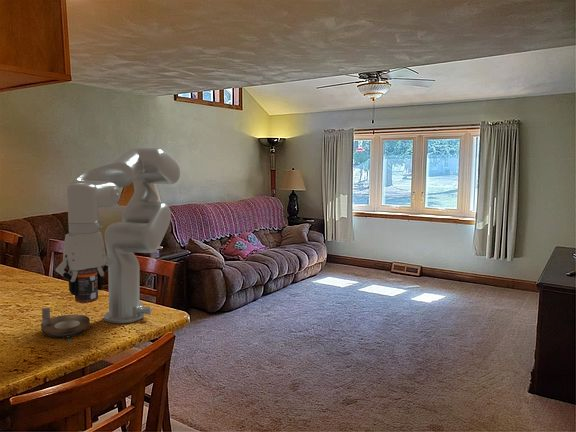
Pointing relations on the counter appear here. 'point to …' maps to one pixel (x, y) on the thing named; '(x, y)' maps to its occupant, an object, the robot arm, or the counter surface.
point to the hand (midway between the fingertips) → (86, 291)
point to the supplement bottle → (87, 286)
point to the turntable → (63, 323)
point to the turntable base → (65, 335)
